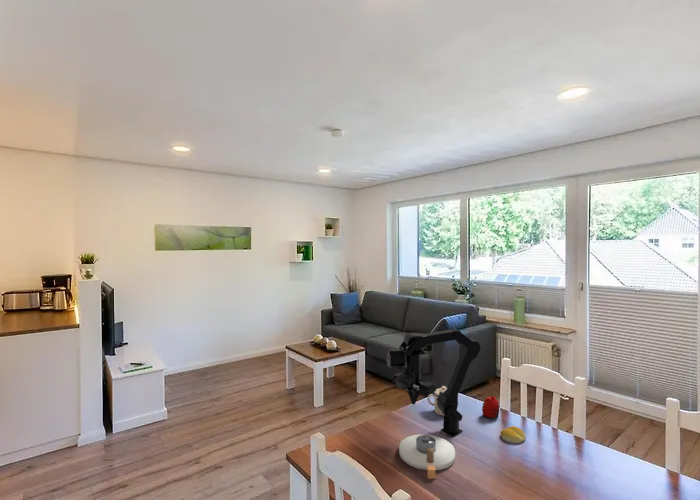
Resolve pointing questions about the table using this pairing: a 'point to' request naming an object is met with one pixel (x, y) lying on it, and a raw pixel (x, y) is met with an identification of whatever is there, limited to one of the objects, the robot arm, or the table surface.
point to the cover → (425, 443)
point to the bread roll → (513, 434)
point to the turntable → (419, 460)
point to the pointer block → (431, 472)
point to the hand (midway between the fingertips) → (413, 404)
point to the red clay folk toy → (491, 407)
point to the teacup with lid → (436, 395)
